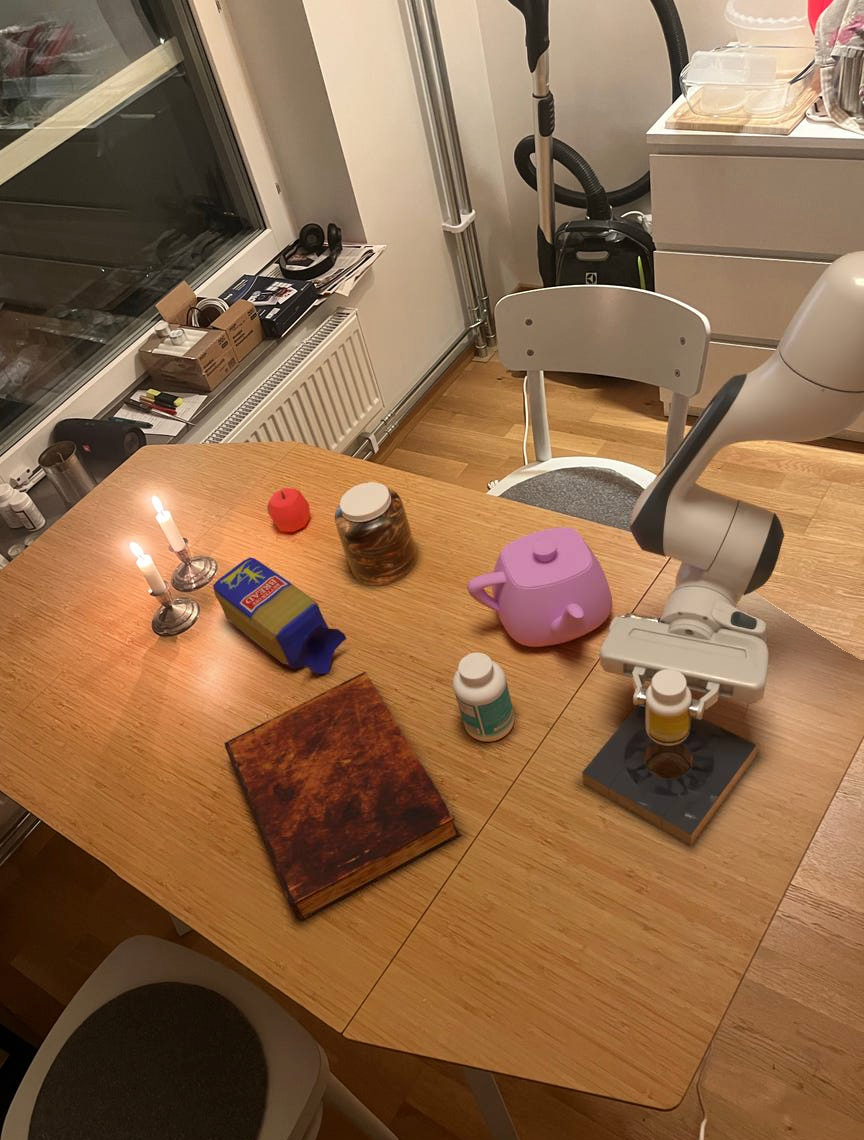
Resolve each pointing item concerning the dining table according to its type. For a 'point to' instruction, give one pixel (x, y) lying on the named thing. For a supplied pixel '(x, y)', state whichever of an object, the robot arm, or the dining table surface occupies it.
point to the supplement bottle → (668, 708)
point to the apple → (289, 509)
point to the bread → (277, 616)
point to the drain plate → (673, 800)
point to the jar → (375, 534)
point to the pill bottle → (483, 697)
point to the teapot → (546, 588)
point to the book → (338, 795)
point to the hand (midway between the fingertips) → (666, 709)
